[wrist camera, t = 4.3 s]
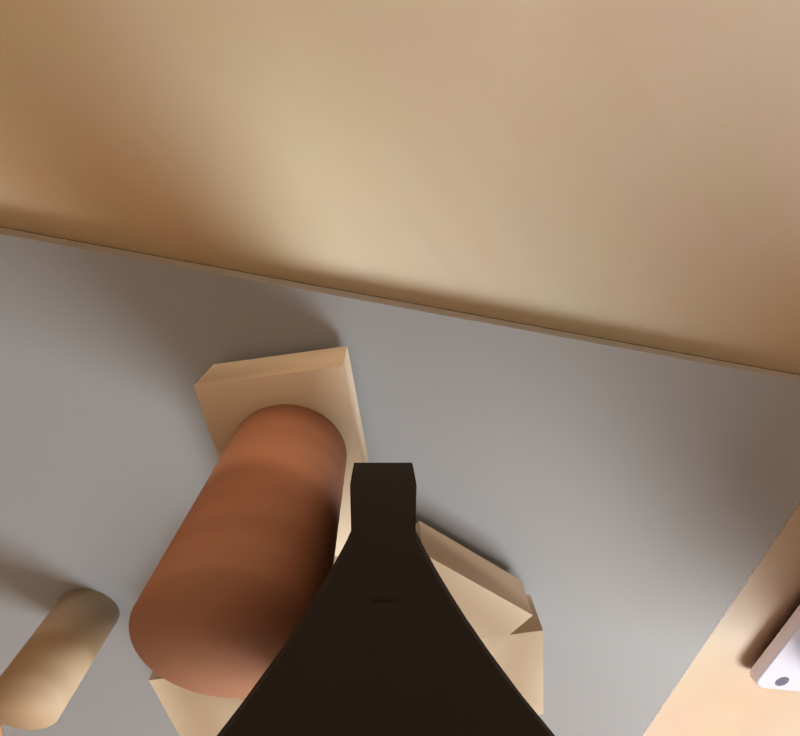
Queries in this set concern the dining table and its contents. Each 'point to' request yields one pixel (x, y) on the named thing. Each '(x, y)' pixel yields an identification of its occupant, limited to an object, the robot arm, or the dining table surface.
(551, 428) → the post board
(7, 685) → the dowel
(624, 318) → the dining table surface
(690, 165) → the dining table surface
